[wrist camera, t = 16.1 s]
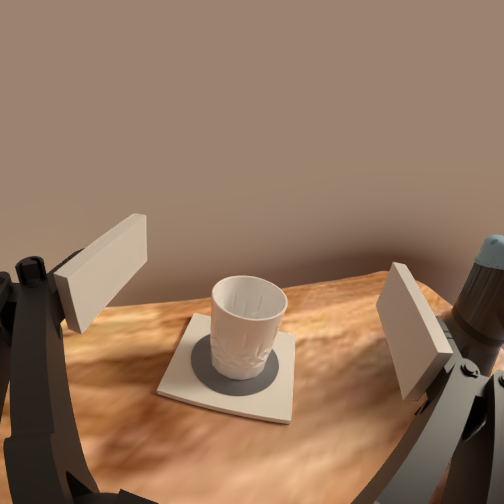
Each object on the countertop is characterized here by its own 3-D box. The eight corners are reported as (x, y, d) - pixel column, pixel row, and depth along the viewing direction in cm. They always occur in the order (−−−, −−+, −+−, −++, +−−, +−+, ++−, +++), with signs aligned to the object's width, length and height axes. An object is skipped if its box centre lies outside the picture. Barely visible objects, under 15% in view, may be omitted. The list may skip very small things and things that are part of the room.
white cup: (252, 334, 39) (265, 272, 35) (280, 375, 33) (301, 312, 29) (197, 344, 36) (202, 279, 31) (219, 391, 30) (229, 326, 25)
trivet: (294, 338, 41) (295, 332, 41) (289, 424, 28) (291, 419, 27) (194, 316, 42) (194, 311, 42) (157, 393, 29) (156, 388, 28)
